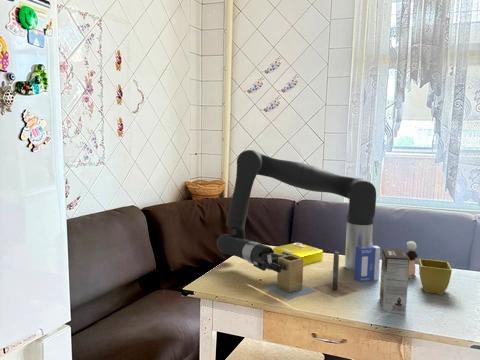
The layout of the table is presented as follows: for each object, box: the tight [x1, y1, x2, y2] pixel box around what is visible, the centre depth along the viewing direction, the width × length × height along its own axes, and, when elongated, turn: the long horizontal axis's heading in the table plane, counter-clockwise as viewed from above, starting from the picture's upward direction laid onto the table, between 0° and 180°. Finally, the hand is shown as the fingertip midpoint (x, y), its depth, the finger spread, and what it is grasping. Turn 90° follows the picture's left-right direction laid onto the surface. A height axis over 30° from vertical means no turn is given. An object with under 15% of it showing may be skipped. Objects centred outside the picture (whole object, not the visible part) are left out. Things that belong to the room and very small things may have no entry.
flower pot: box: [418, 258, 453, 295], centre depth 133 cm, size 9×9×9 cm
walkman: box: [354, 245, 381, 282], centre depth 141 cm, size 8×3×12 cm, turn 102°
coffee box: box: [379, 248, 410, 315], centre depth 120 cm, size 9×6×16 cm
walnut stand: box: [311, 251, 358, 298], centre depth 132 cm, size 10×10×12 cm
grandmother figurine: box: [406, 240, 419, 279], centre depth 146 cm, size 8×4×13 cm, turn 135°
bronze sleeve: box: [276, 255, 304, 294], centre depth 131 cm, size 6×6×10 cm
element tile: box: [272, 242, 324, 267], centre depth 165 cm, size 15×15×5 cm
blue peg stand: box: [263, 283, 317, 300], centre depth 131 cm, size 12×12×7 cm
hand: (290, 266), depth 131 cm, fingers open, 8 cm apart
